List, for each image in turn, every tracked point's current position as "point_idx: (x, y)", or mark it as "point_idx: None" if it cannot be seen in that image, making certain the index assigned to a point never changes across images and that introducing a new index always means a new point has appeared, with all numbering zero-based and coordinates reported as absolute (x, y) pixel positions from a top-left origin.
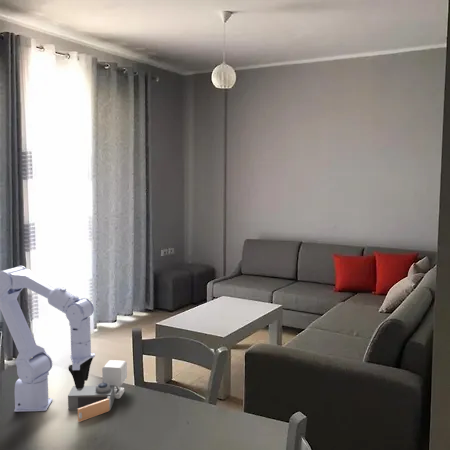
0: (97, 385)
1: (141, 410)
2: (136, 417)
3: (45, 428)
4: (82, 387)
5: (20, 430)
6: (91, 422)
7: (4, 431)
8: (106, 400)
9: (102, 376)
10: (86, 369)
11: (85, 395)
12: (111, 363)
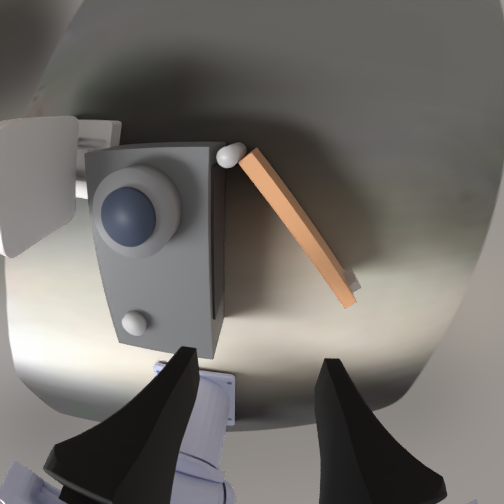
0: (126, 249)
1: (258, 4)
2: (330, 23)
3: (351, 358)
4: (342, 367)
5: None
6: (352, 220)
7: None
8: (262, 167)
9: (45, 236)
10: (443, 486)
11: (210, 293)
12: None
